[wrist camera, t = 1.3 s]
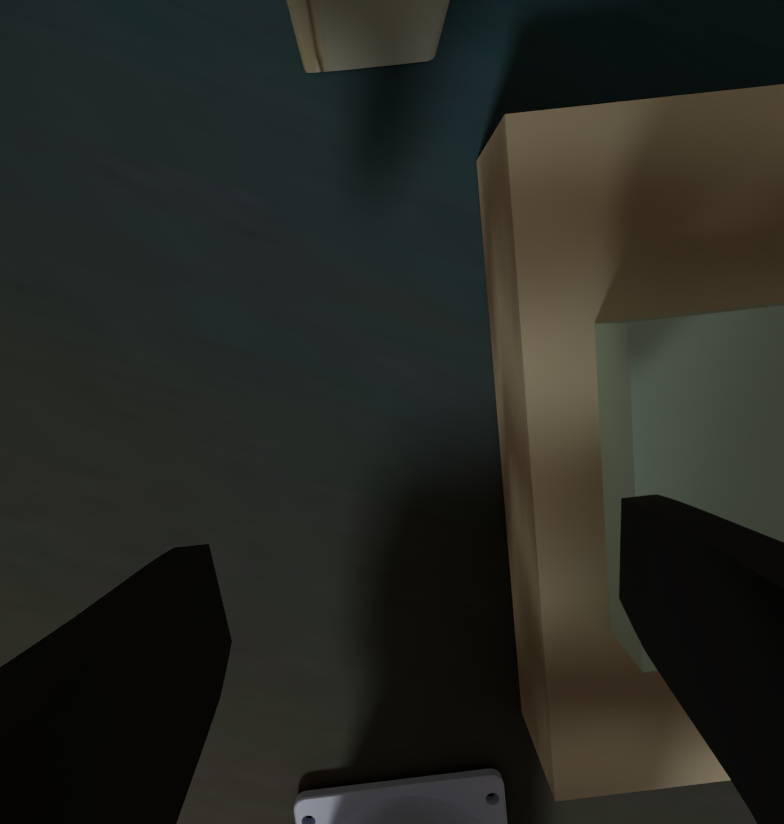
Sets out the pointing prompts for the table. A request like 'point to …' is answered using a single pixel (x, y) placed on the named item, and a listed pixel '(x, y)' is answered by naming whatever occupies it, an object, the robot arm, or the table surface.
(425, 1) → the skincare box
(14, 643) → the table surface
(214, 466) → the table surface
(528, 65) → the table surface
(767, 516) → the tile
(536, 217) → the riser
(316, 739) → the table surface
